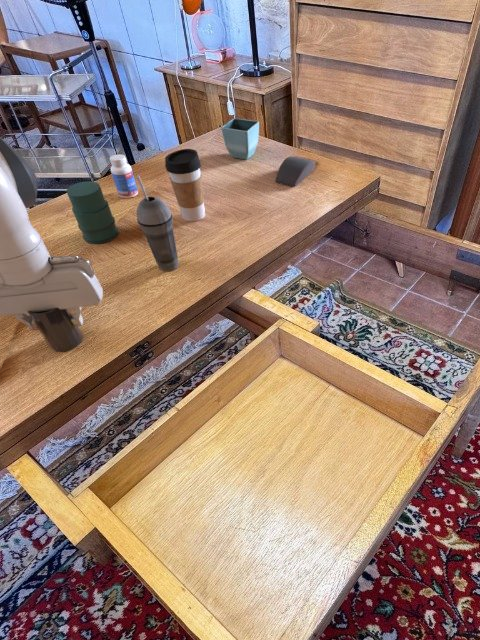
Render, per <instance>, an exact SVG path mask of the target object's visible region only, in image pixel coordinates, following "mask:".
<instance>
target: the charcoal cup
mask: <svg viewBox="0 0 480 640" xmlns="http://www.w3.org/2000/svg"><path fill="white" fill-rule="evenodd" d="M27 314H28V315H30V316H31V318H32V320H33V321H34V323H35V324H36V326H37V328H38V329H39V330H38V331H39V332H40V334H41V336H42V337H43V339H44V341H45V342H46V344H47V346H48V347H49V348H50V349H51V350H52V351H55V352H58V353H59V352H60V353H61V352H63V353H64V352H67V351H71V350H74V349H75V348H77V347H78V346H79V345H80V344H81V343H82V341H83V339H84V335H83V332H82V331H81V329H80V327H79V325H78V326H74V325H73V323H72V322H71V317H72V314H73V313H72V311H71V309H70V308H69V309H59V308H54V309H53V310H51V311H42V312H32V311H28V313H27Z"/></svg>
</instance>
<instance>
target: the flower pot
mask: <svg viewBox="0 0 480 640" xmlns="http://www.w3.org/2000/svg"><path fill="white" fill-rule="evenodd" d="M220 129H221V133H222V139H223V141H224V146H225V147H226V149H227V152H229V155H230V156H231V157H232V158H234V159H240V160H246V161H247V160H248V159H250V158H251V157H252V156H253V155H254V154H255V152H256V150H257V147H258V143H259V137H260V136H259V135H260V121H258V120H251V119H244V118H237V117H233V118H232V119H231V120H229V121H228V122H226V123H225V124H224V125H222V127H220Z"/></svg>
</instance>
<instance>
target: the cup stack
mask: <svg viewBox="0 0 480 640" xmlns="http://www.w3.org/2000/svg"><path fill="white" fill-rule="evenodd" d="M66 194H67V197H68V199H69V201H70V204H71V206H72V207H71V210H72V213H73V215H74V218H75V221H76V222H77V226H78V229H79V231H80V232H81V233H82V239H83V241H85V242H86V243H87V244H91V245H102V244H106V243H109V242H111V241H113V240H115V239H116V238H117V237H118V236H119V235H120V230H119V228H118V226H117V225H116V219H115V217H114V216H113V213H112V210H111V208H110V204H109V202H108V200H106V198H105V195H104V193H103V191H102V187H101V185H100V184H99V182H96V181H92V180H89V181H88V180H87V181H81V182H76V183H74V184H71V185H70V186H68V188H66Z"/></svg>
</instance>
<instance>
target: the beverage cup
mask: <svg viewBox="0 0 480 640" xmlns="http://www.w3.org/2000/svg"><path fill="white" fill-rule="evenodd" d="M136 179H137V181H138V183H139V185H140V188H141V191H142V193H143V195H144V196H143V197H144V198H142V199H141V200H140V202H139V203H138V205H137V208H136V221H137V223H138V224H139V227H140V229H141V230H142V232H143V234H144V236H145V239H146V241H147V243H148V246H149V248H150V250H151V253H152V256H153V259H154V260H155V263H156V264H157V267H158V269H159V270H160V271H162V272H172V271H175V270H176V269H177V268H178V267H179V256H178V251H177V245H176V238H175V234H174V227H173V226H174V223H173V222H174V220H173V214H172V212H171V209H170V207H169V205H168V204H167V202H165V201H164V200H163V199H161V198H160V197H157V196H148V194H147V192H146V189H145V187H144V184H143V182H142V179H141V176H140V174H137V175H136Z"/></svg>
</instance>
